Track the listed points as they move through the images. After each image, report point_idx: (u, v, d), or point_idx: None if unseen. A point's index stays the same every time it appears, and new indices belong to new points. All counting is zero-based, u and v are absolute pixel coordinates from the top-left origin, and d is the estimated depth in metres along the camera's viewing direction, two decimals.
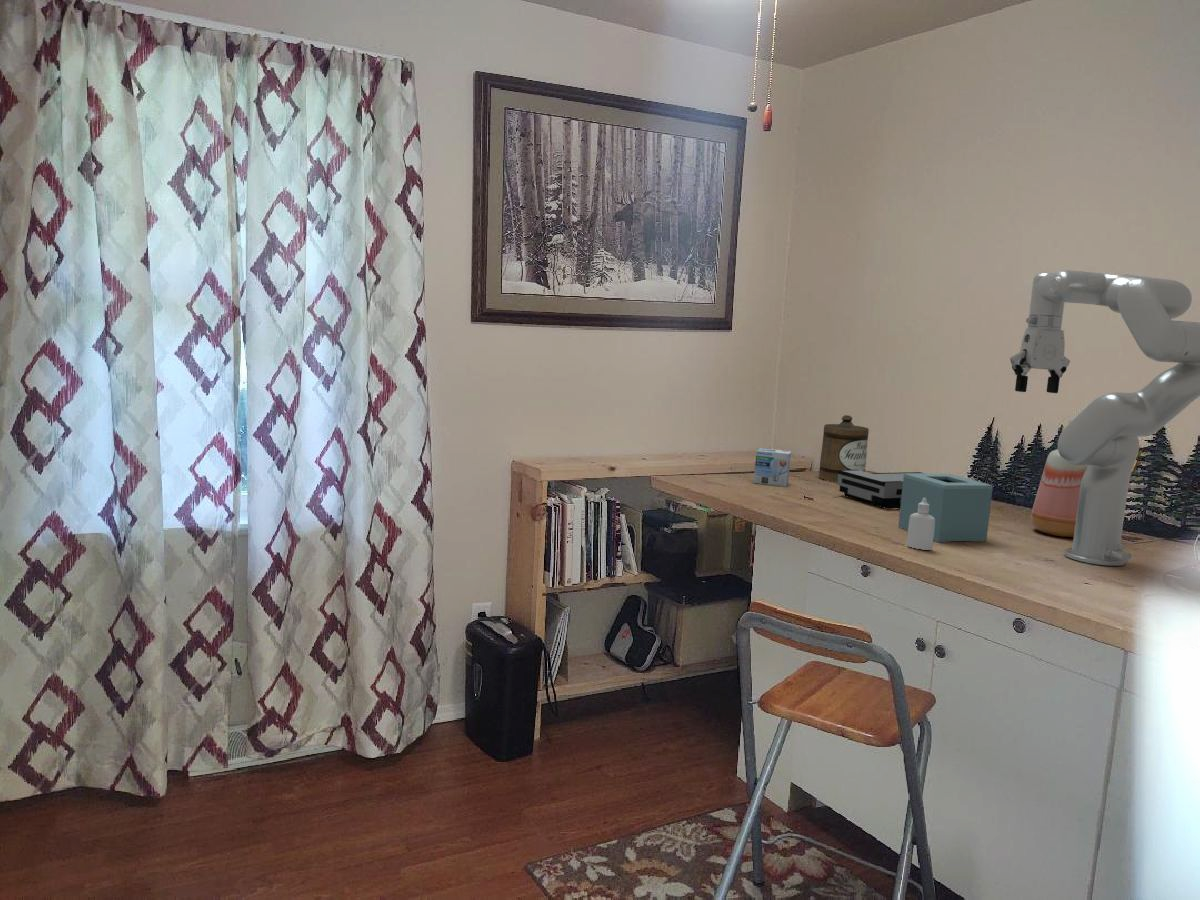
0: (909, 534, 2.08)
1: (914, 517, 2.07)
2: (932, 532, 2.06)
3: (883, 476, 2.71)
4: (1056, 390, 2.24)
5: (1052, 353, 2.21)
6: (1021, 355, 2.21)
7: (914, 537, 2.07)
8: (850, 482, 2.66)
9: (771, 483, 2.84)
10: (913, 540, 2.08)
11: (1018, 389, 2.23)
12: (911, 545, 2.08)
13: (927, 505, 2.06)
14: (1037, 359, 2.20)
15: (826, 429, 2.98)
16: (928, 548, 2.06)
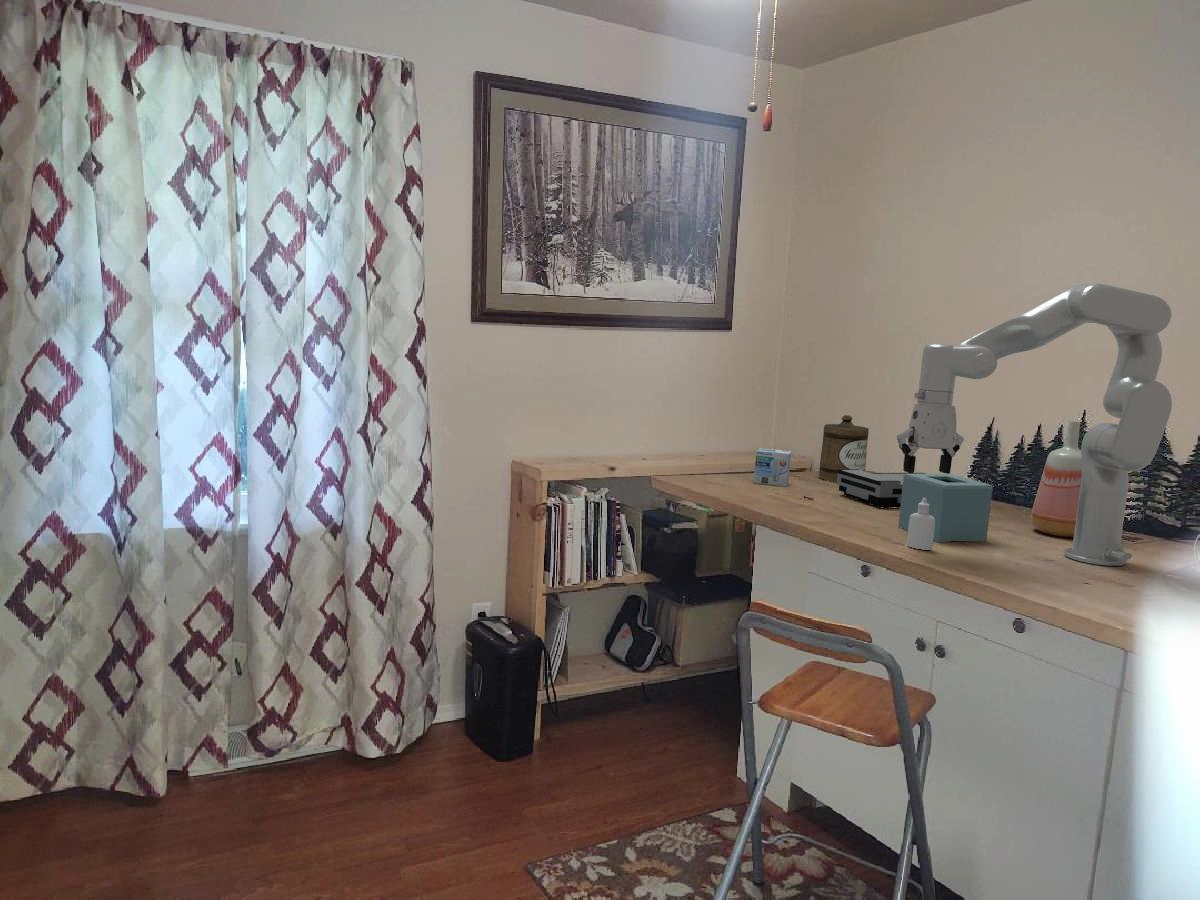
0: (909, 534, 2.08)
1: (914, 517, 2.07)
2: (932, 532, 2.06)
3: (883, 476, 2.71)
4: (948, 470, 2.06)
5: (942, 431, 2.02)
6: (908, 433, 2.02)
7: (914, 537, 2.07)
8: (848, 481, 2.67)
9: (771, 483, 2.84)
10: (913, 540, 2.08)
11: (906, 469, 2.05)
12: (911, 545, 2.08)
13: (927, 505, 2.06)
14: (925, 438, 2.01)
15: (826, 429, 2.98)
16: (928, 548, 2.06)
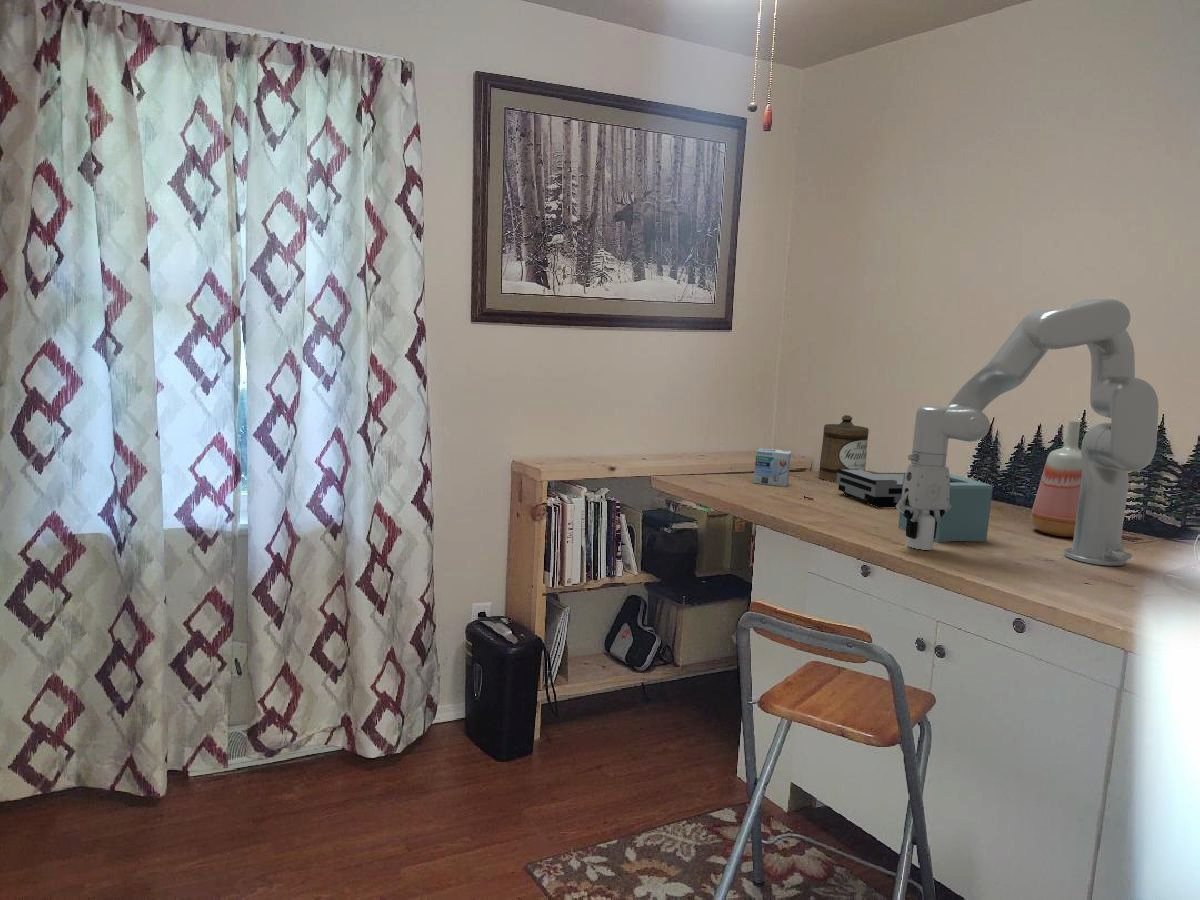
0: None
1: None
2: (932, 532, 2.06)
3: (883, 476, 2.71)
4: None
5: (936, 493, 2.04)
6: (905, 500, 2.05)
7: None
8: (847, 481, 2.68)
9: (771, 483, 2.84)
10: (913, 540, 2.08)
11: (908, 535, 2.08)
12: (911, 545, 2.08)
13: None
14: (919, 500, 2.03)
15: (826, 429, 2.98)
16: (928, 548, 2.06)
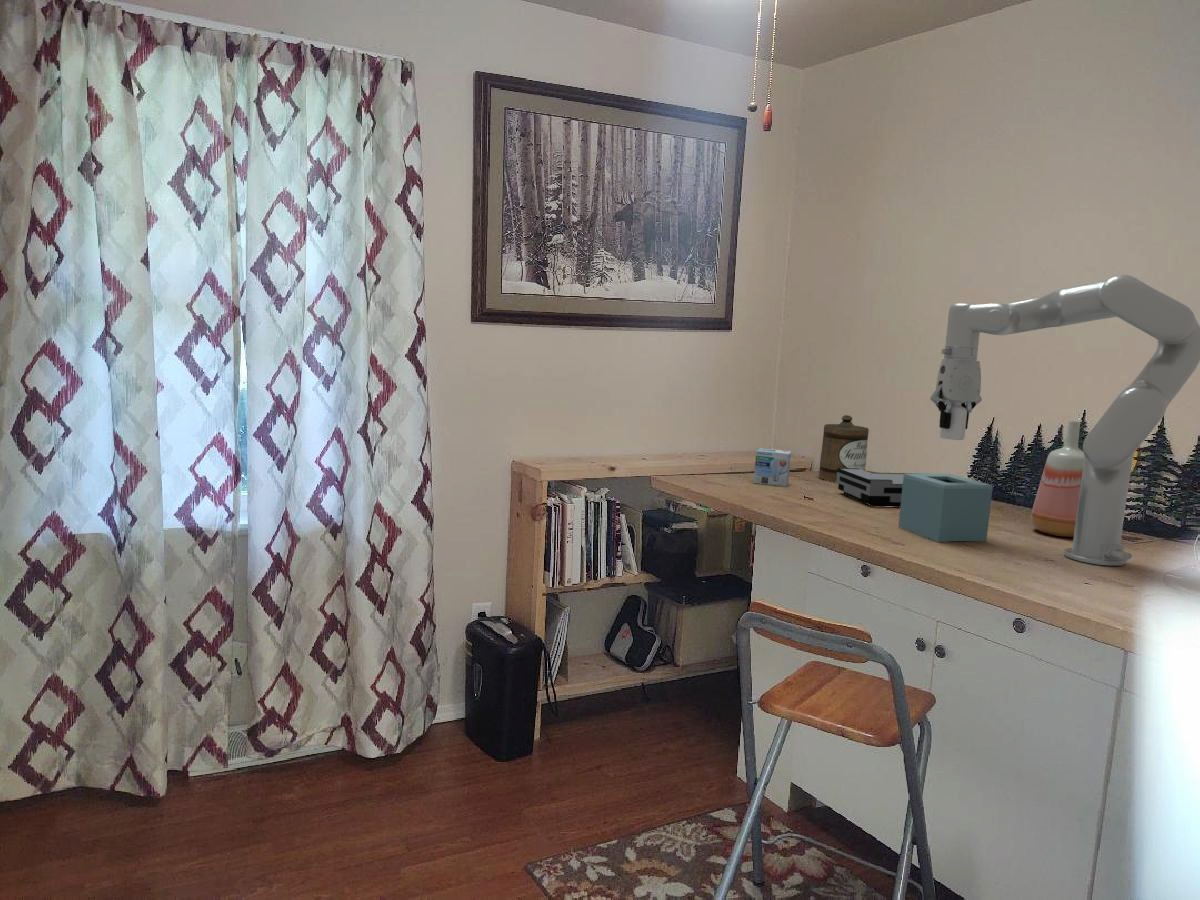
0: None
1: None
2: (965, 422, 2.19)
3: (883, 475, 2.72)
4: None
5: (968, 384, 2.17)
6: (939, 391, 2.18)
7: None
8: (845, 480, 2.69)
9: (771, 483, 2.84)
10: (946, 431, 2.21)
11: (942, 426, 2.21)
12: (944, 435, 2.21)
13: None
14: (953, 391, 2.16)
15: (826, 429, 2.98)
16: (960, 437, 2.19)
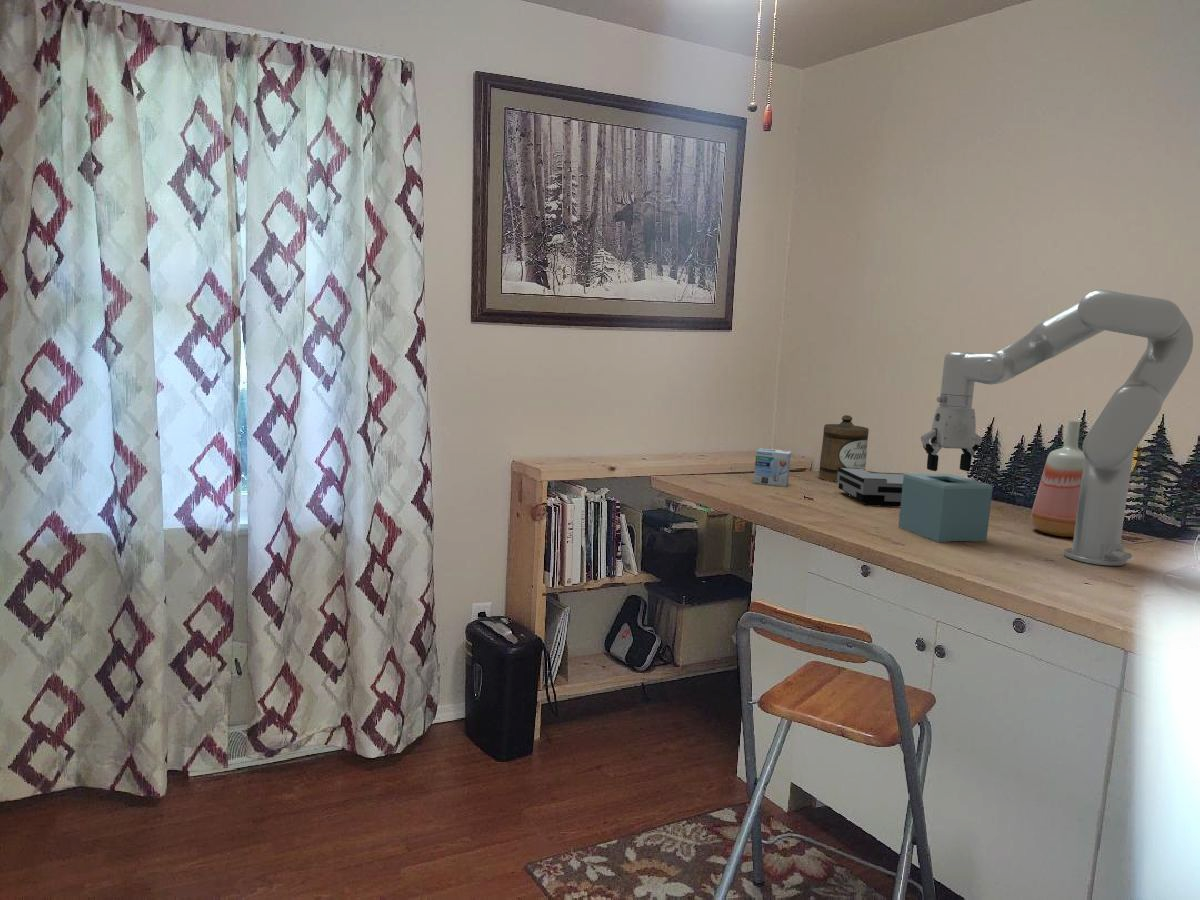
0: None
1: None
2: None
3: (883, 475, 2.72)
4: (968, 468, 2.23)
5: (963, 432, 2.19)
6: (931, 434, 2.19)
7: None
8: (844, 479, 2.71)
9: (771, 483, 2.84)
10: None
11: (929, 468, 2.22)
12: None
13: None
14: (947, 439, 2.18)
15: (826, 429, 2.98)
16: None
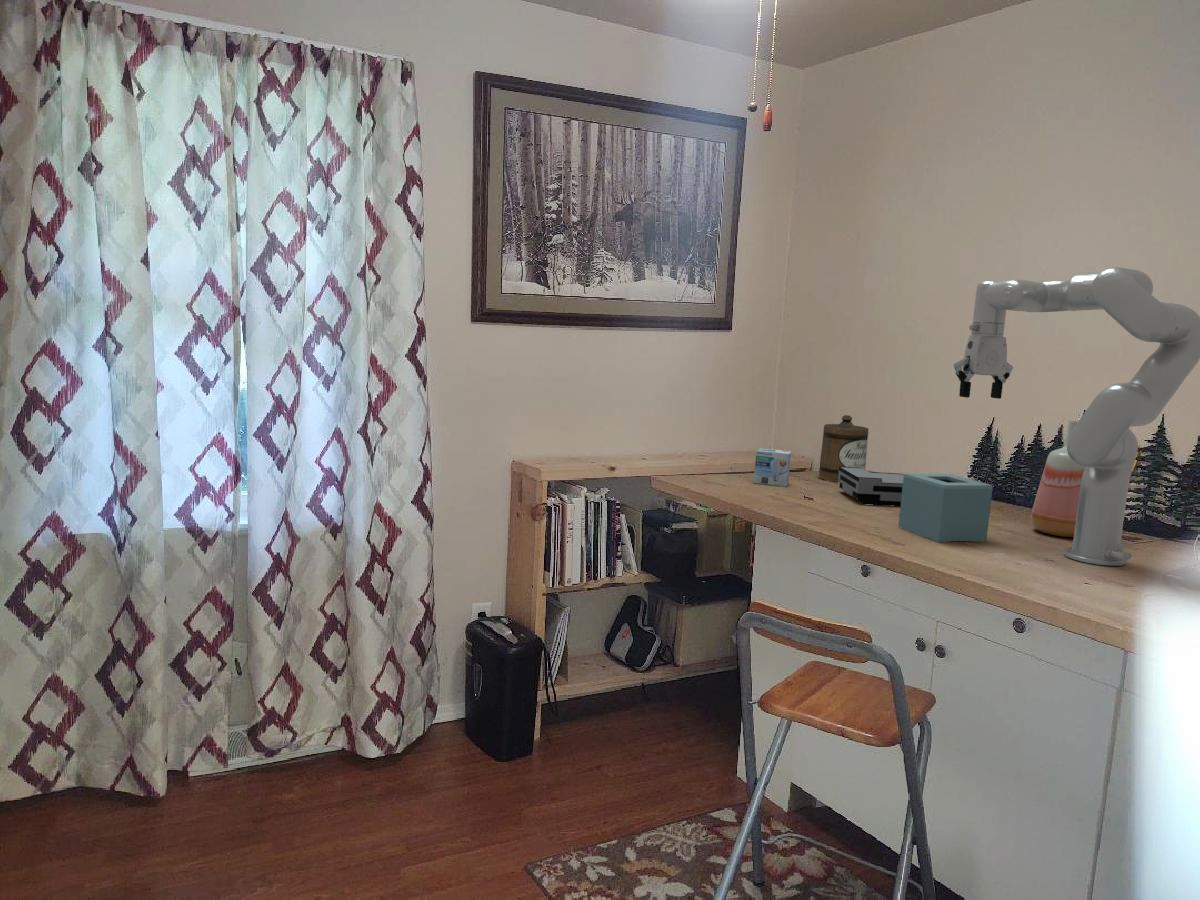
0: None
1: None
2: None
3: (884, 475, 2.73)
4: (999, 395, 2.29)
5: (994, 359, 2.26)
6: (964, 361, 2.26)
7: None
8: (843, 478, 2.73)
9: (771, 483, 2.84)
10: None
11: (962, 395, 2.29)
12: None
13: None
14: (980, 365, 2.25)
15: (826, 429, 2.98)
16: None
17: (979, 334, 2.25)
